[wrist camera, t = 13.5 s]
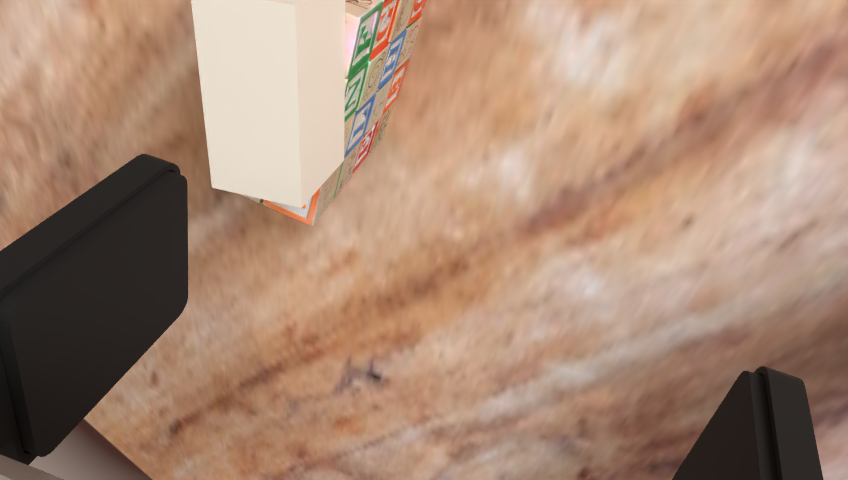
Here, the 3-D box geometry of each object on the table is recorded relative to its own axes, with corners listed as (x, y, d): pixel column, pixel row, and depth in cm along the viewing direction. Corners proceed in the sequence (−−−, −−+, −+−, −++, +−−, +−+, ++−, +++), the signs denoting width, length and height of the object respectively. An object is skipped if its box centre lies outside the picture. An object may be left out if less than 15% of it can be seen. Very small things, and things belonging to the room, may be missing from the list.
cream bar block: (345, -24, 31) (295, 5, 27) (344, 160, 36) (301, 208, 32) (252, -39, 32) (189, -13, 28) (263, 143, 37) (211, 187, 33)
